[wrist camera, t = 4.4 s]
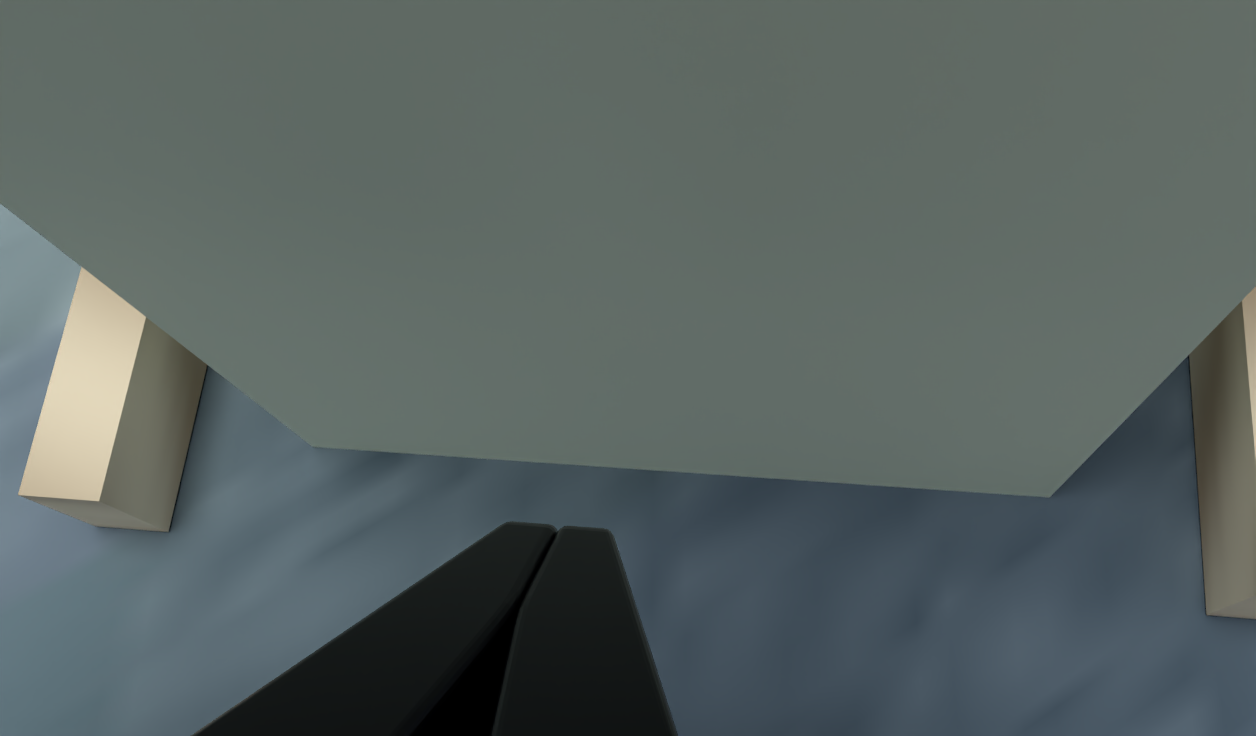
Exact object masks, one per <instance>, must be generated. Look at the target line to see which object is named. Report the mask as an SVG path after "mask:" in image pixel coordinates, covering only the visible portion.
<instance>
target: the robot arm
mask: <svg viewBox="0 0 1256 736" xmlns="http://www.w3.org/2000/svg"><path fill="white" fill-rule="evenodd" d="M191 736H678V734H677V730H676V727H675V724H674V721H673V718H672V715H671V712H670V709H669V706H668V703H667V699H666V696H665V693H664V690H663V687H662V684H661V681H660V678H659V675H658V672H657V668H656V665H655V662H654V659H653V656H652V653H651V650H650V647H649V644H648V641H647V638H646V634H645V631H644V628H643V625H642V622H641V619H640V616H639V613H638V610H637V607H636V603H635V600H634V597H633V594H632V591H631V588H630V585H629V582H628V579H627V576H626V572H625V569H624V566H623V563H622V560H621V557H620V554H619V551H618V548H617V545H616V541H615V538H614V536H613V534H612V533H611V531H609V530H608V529H604V528H591V527H577V526H564V527H562V528H560V530H559V531H557V529H556V528H555V527H554V526H553V525H549V524H537V523H525V522H506V523H504V524H502V525H500V526H499V527H497V528H496V529H495V530H493V531H492V532H490V533H489V534H487V535H486V536H484V537H483V538H481V539H480V540H478V541H477V542H475V543H474V544H472V545H471V546H469V547H468V548H467V549H465V550H464V551H462V552H461V553H459V554H458V555H456V556H455V557H453V558H452V559H450V560H449V561H447V562H446V563H444V564H443V565H442V566H440V567H439V568H437V569H436V570H434V571H433V572H431V573H430V574H428V575H427V576H425V577H424V578H422V579H421V580H419V581H418V582H416V583H415V584H414V585H412V586H411V587H409V588H408V589H406V590H405V591H403V592H402V593H400V594H399V595H397V596H396V597H394V598H393V599H391V600H390V601H389V602H387V603H386V604H384V605H383V606H381V607H380V608H378V609H377V610H375V611H374V612H372V613H371V614H369V615H368V616H366V617H365V618H363V619H362V620H361V621H359V622H358V623H356V624H355V625H353V626H352V627H350V628H349V629H347V630H346V631H344V632H343V633H341V634H340V635H338V636H337V637H336V638H334V639H333V640H331V641H330V642H328V643H327V644H325V645H324V646H322V647H321V648H319V649H318V650H316V651H315V652H313V653H312V654H310V655H309V656H308V657H306V658H305V659H303V660H302V661H300V662H299V663H297V664H296V665H294V666H293V667H291V668H290V669H288V670H287V671H285V672H284V673H283V674H281V675H280V676H278V677H277V678H275V679H274V680H272V681H271V682H269V683H268V684H266V685H265V686H263V687H262V688H260V689H259V690H257V691H256V692H255V693H253V694H252V695H250V696H249V697H247V698H246V699H244V700H243V701H241V702H240V703H238V704H237V705H235V706H234V707H232V708H231V709H230V710H228V711H227V712H225V713H224V714H222V715H221V716H219V717H218V718H216V719H215V720H213V721H212V722H210V723H209V724H207V725H206V726H204V727H203V728H202V729H200V730H199V731H197V732H196V733H194V734H193V735H191Z"/></svg>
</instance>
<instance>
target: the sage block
mask: <svg viewBox="0 0 1256 736" xmlns="http://www.w3.org/2000/svg"><path fill="white" fill-rule="evenodd" d="M0 203H1V204H2V205H3V206H4V207H6V208H7V209H8V210H10V211H11V212H12V213H13V214H15V215H16V216H17V217H18V218H20V219H21V220H22V221H24V222H25V223H26V224H27V225H29V226H30V227H31V228H33V229H34V230H35V231H36V232H38V233H39V234H40V235H42V236H43V237H44V238H45V239H47V240H48V241H49V242H51V243H52V244H53V245H54V246H56V247H57V248H58V249H60V250H61V251H62V252H63V253H65V254H66V255H67V256H69V257H70V258H71V259H72V260H74V261H75V262H76V263H77V264H79V265H80V266H81V267H83V268H84V269H85V270H86V271H88V272H89V273H90V274H92V275H93V276H94V277H95V278H97V279H98V280H99V281H101V282H102V283H103V284H104V285H106V286H107V287H108V288H110V289H111V290H112V291H113V292H115V293H116V294H117V295H119V296H120V297H121V298H122V299H124V300H125V301H126V302H127V303H129V304H130V305H131V306H133V307H134V308H135V309H136V310H138V311H139V312H140V313H142V314H143V315H144V316H145V317H147V318H148V319H149V320H151V321H152V322H153V323H154V324H156V325H157V326H158V327H160V328H161V329H162V330H163V331H165V332H166V333H167V334H169V335H170V336H171V337H172V338H174V339H175V340H176V341H177V342H179V343H180V344H181V345H183V346H184V347H185V348H186V349H188V350H189V351H190V352H192V353H193V354H194V355H195V356H197V357H198V358H199V359H201V360H202V361H203V362H204V363H206V364H207V365H208V366H210V367H211V368H212V369H213V370H215V371H216V372H217V373H219V374H220V375H221V376H222V377H224V378H225V379H226V380H228V381H229V382H230V383H231V384H233V385H234V386H235V387H236V388H238V389H239V390H240V391H242V392H243V393H244V394H245V395H247V396H248V397H249V398H251V399H252V400H253V401H254V402H256V403H257V404H258V405H260V406H261V407H262V408H263V409H265V410H266V411H267V412H269V413H270V414H271V415H272V416H274V417H275V418H276V419H278V420H279V421H280V422H281V423H283V424H284V425H285V426H286V427H288V428H289V429H290V430H292V431H293V432H294V433H295V434H297V435H298V436H299V437H301V438H302V439H303V440H304V441H306V442H307V443H308V444H310V445H311V446H312V447H319V448H334V449H348V450H363V451H378V452H392V453H407V454H421V455H436V456H451V457H465V458H480V459H494V460H509V461H524V462H538V463H553V464H567V465H582V466H597V467H611V468H626V469H640V470H655V471H670V472H684V473H699V474H713V475H728V476H743V477H757V478H772V479H786V480H801V481H816V482H830V483H845V484H859V485H874V486H889V487H903V488H918V489H932V490H947V491H962V492H976V493H991V494H1005V495H1020V496H1035V497H1049V498H1050V497H1051V496H1052V495H1053V494H1054V493H1055V492H1056V490H1057V489H1058V488H1059V487H1060V486H1061V485H1062V484H1063V483H1064V482H1065V481H1066V480H1067V479H1068V478H1069V477H1070V476H1071V475H1072V474H1073V473H1074V472H1075V471H1076V470H1077V469H1078V468H1079V467H1080V466H1081V465H1082V464H1083V463H1084V462H1085V461H1086V460H1087V459H1088V458H1089V457H1090V456H1091V455H1092V454H1093V453H1094V452H1095V451H1096V449H1097V448H1098V447H1099V446H1100V445H1101V444H1102V443H1103V442H1104V441H1105V440H1106V439H1107V438H1108V437H1109V436H1110V435H1111V434H1112V433H1113V432H1114V431H1115V430H1116V429H1117V428H1118V427H1119V426H1120V425H1121V424H1122V423H1123V422H1124V421H1125V420H1126V419H1127V418H1128V417H1129V416H1130V415H1131V414H1132V413H1133V412H1134V411H1135V410H1136V409H1137V407H1138V406H1139V405H1140V404H1141V403H1142V402H1143V401H1144V400H1145V399H1146V398H1147V397H1148V396H1149V395H1150V394H1151V393H1152V392H1153V391H1154V390H1155V389H1156V388H1157V387H1158V386H1159V385H1160V384H1161V383H1162V382H1163V381H1164V380H1165V379H1166V378H1167V377H1168V376H1169V375H1170V374H1171V373H1172V372H1173V371H1174V370H1175V369H1176V368H1177V366H1178V365H1179V364H1180V363H1181V362H1182V361H1183V360H1184V359H1185V358H1186V357H1187V356H1188V355H1189V354H1190V353H1191V352H1192V351H1193V350H1194V349H1195V348H1196V347H1197V346H1198V345H1199V344H1200V343H1201V342H1202V341H1203V340H1204V339H1205V338H1206V337H1207V336H1208V335H1209V334H1210V333H1211V332H1212V331H1213V330H1214V329H1215V328H1216V327H1217V325H1218V324H1219V323H1220V322H1221V321H1222V320H1223V319H1224V318H1225V317H1226V316H1227V315H1228V314H1229V313H1230V312H1231V311H1232V310H1233V309H1234V308H1235V307H1236V306H1237V305H1238V304H1239V303H1240V302H1241V301H1242V300H1243V299H1244V298H1245V297H1246V296H1247V295H1248V294H1249V293H1250V292H1251V291H1252V290H1253V289H1254V288H1255V287H1256V0H0Z"/></svg>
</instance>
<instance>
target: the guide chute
mask: <svg viewBox="0 0 1256 736" xmlns="http://www.w3.org/2000/svg"><path fill="white" fill-rule="evenodd" d="M1189 360H1190V375H1191V390H1192V405H1193V420H1194V435H1195V450H1196V465H1197V480H1198V495H1199V510H1200V525H1201V540H1202V555H1203V570H1204V585H1205V600H1206V615H1212V616H1224V617H1237V618H1249V619H1256V287H1255V288H1254V289H1253V290H1252V291H1251V292H1250V293H1249V294H1248V295H1247V296H1246V297H1245V298H1244V299H1243V300H1242V301H1241V302H1240V303H1239V304H1238V305H1237V306H1236V307H1235V308H1234V309H1233V310H1232V311H1231V312H1230V313H1229V314H1228V315H1227V316H1226V317H1225V318H1224V319H1223V320H1222V321H1221V322H1220V323H1219V324H1218V325H1217V327H1216V328H1215V329H1214V330H1213V331H1212V332H1211V333H1210V334H1209V335H1208V336H1207V337H1206V338H1205V339H1204V340H1203V341H1202V342H1201V343H1200V344H1199V345H1198V346H1197V347H1196V348H1195V349H1194V350H1193V351H1192V352H1191V353H1190V354H1189ZM206 368H207V364H206V363H204V362H203V361H202V360H201V359H199V358H198V357H197V356H195V355H194V354H193V353H192V352H190V351H189V350H188V349H186V348H185V347H184V346H183V345H181V344H180V343H179V342H177V341H176V340H175V339H174V338H172V337H171V336H170V335H169V334H167V333H166V332H165V331H163V330H162V329H161V328H160V327H158V326H157V325H156V324H154V323H153V322H152V321H151V320H149V319H148V318H147V317H145V316H144V315H143V314H142V313H140V312H139V311H138V310H136V309H135V308H134V307H133V306H131V305H130V304H129V303H127V302H126V301H125V300H124V299H122V298H121V297H120V296H119V295H117V294H116V293H115V292H113V291H112V290H111V289H110V288H108V287H107V286H106V285H104V284H103V283H102V282H101V281H99V280H98V279H97V278H95V277H94V276H93V275H92V274H90V273H89V272H88V271H86V270H85V269H84V268H83V267H82V268H81V271H80V275H79V278H78V282H77V286H76V289H75V293H74V296H73V300H72V304H71V307H70V311H69V314H68V318H67V321H66V325H65V329H64V332H63V336H62V339H61V343H60V347H59V350H58V354H57V357H56V361H55V364H54V368H53V372H52V375H51V379H50V382H49V386H48V390H47V393H46V397H45V400H44V404H43V407H42V411H41V415H40V418H39V422H38V425H37V429H36V433H35V436H34V440H33V443H32V447H31V450H30V454H29V458H28V461H27V465H26V468H25V472H24V476H23V479H22V483H21V486H20V490H19V493H18V495H19V496H22V497H24V498H27V499H29V500H32V501H34V502H37V503H39V504H42V505H44V506H47V507H49V508H51V509H54V510H56V511H59V512H61V513H64V514H66V515H69V516H71V517H74V518H76V519H79V520H81V521H84V522H86V523H88V524H91V525H93V526H98V527H111V528H123V529H136V530H148V531H161V532H169V527H170V523H171V519H172V515H173V510H174V506H175V502H176V497H177V493H178V489H179V484H180V480H181V476H182V472H183V467H184V463H185V459H186V454H187V450H188V446H189V441H190V437H191V433H192V429H193V424H194V420H195V416H196V411H197V407H198V403H199V398H200V394H201V390H202V386H203V381H204V377H205V373H206Z"/></svg>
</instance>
